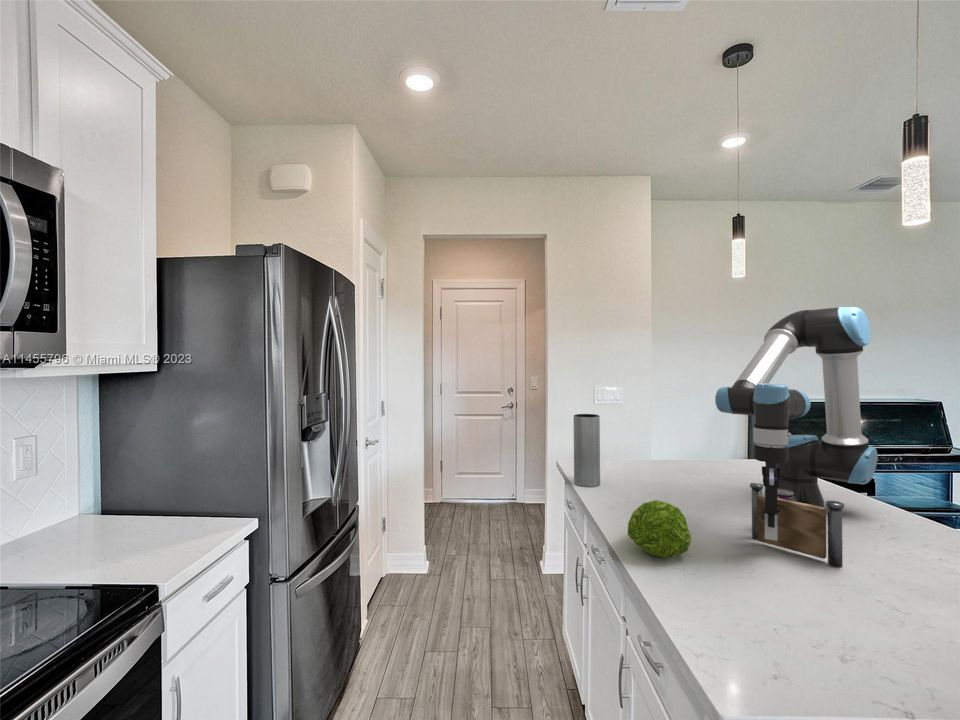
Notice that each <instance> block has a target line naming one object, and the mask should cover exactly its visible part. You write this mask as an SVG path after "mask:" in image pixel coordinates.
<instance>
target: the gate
mask: <svg viewBox="0 0 960 720" xmlns="http://www.w3.org/2000/svg"><path fill="white" fill-rule="evenodd" d="M764 503H765V494H762V495H757V542H762V543H765V544H768V545H771V546H776V547H778V548H783V549H786V550H791V551H794V552H798V553H801V554H805V555H808V556H810V557H811V556H812V557H815V558H819V559H823V560H824V559H826V558H827V507H825V506H824V507H820V506H815V505H810V504H805V503H800V502H795V501H790V500H785V499H780V498H777V509H780V513H779V512H778V514H777V541H776V540H770V539H765V513H762V510H765V505H764Z"/></svg>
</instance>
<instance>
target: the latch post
mask: <svg viewBox="0 0 960 720" xmlns="http://www.w3.org/2000/svg"><path fill="white" fill-rule="evenodd" d="M749 488H751V539H753V540H755V541H756V540H757V495H763V494H762V493H763V492H762V491H763V489H764V485H763V483H757V482H751V483H749Z"/></svg>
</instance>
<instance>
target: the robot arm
mask: <svg viewBox="0 0 960 720" xmlns="http://www.w3.org/2000/svg"><path fill="white" fill-rule="evenodd" d="M871 332H872V331H871V325H870V322H869V319H868V316H867V315H866V313H865V312H864V310H862V309H861V308H859V307H856V306H849V307H848V306H840V307H829V308H826V307H825V308H819V309H802V310H798V311H795V312H792V313H790V314H788V315H786V316H784V317H783V318H781V319H780V320H778V321H777V322H776V323H775V324H773V325H772V326H771V327H770V328H769V329H768V331H766V334H765V335H764V336H763V343H762V345H761V346H760V348H758V350H757V351H756V353H755V354H754V356H753V357H752V359H751V360H750V361H749V362H748V363H747V365H746V367H745V368H744V370H743V371H742V372H741V373H740V375H739V377H737V379H736V381H735V382H734V383H733V384H732V386H731V387H730V386H726V387H725V386H723V387H720V388H718V390H717V391H716V393H715V399H714V402H715V405H716V409H717V410H718V411H719V412H721V413H726V414H732V415H745V416H753V429H752V431H753V440H752V441H753V442H754V443H755V444H754V445H753V459H754V460H756V461H758V462H765V466H763V465H762V466H761V475H762V485H763V487H764V495H765V503H764V505H765V510H762V513H765V539H770V540H776V541H777V514H778V512H779V513H780V509H777V489H785V490H789V491H792V492H793V493H794V497H795V499H796V502H800V503H805V504H810V505H815V506H820V507H824V508H825V500H824V497H823V494H822V491H821V490H820V486H819V485H818V483H819V482H818V478H821V479H826V480H827V479H828V480H832V481H833V480H834V481H838V482H844V483H848V484H856V485H857V484H858V485H866V484H869V483H870V482H871V480H872V479H873V477H874V474H875V471H876V469H877V463H878V450H877V449H876V448H875V447H873V446H870V445H869V439H868V438H867V437H866V436H865V435H864V434H863V433H862V420H861V417H862V415H861V401H860V384H859V366H858V365H859V364H858V358H859V356H860V355H861V354H862V353H863V352H864V347H865V346H868V345H869V344H870V342H871V336H872V335H871V334H872V333H871ZM807 347H808V348H812V347H813V348H815V354H816V355H817V356H819V357H820V358H821V362H822V377H823V378H822V379H823V391H824V392H823V394H824V407H825V421H826V434H824V435H822V436H821V440H819V438H818V436H817V435H816V434H815V435H813V434H792V433H791V432H789V420H790V419H794V420H795V419H799V418H801V417H803V416H805V415H806V414H808V412H809V411H810V408H811V405H812V404H811V400H810V397H809V396H808V395H807V394H806V393H805V392H803V391H801V390H799V389H790V388H789V387H788V385H786V384H784V383H771V380H773V378H774V376H775V375H776V373H777V372H778V370H779V369H780V368H781V366H782V364H783V363H784V362H785V360H786V359H787V357H788V356H789V355H790V354H793V353H795V351H797V349H798V348H807Z"/></svg>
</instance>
